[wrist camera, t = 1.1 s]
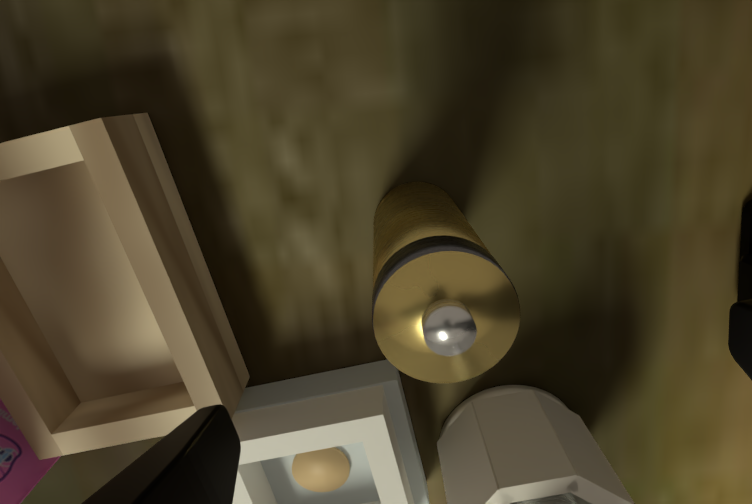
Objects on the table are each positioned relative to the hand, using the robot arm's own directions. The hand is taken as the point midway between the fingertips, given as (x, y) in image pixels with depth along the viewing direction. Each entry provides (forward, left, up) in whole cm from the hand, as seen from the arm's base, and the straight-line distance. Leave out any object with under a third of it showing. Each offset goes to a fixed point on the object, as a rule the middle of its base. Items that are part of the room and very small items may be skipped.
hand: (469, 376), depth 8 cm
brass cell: (0, 0, -9) cm, 9 cm away
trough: (+12, -1, -9) cm, 15 cm away
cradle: (+6, +9, -9) cm, 14 cm away
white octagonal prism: (-2, +11, -9) cm, 15 cm away
